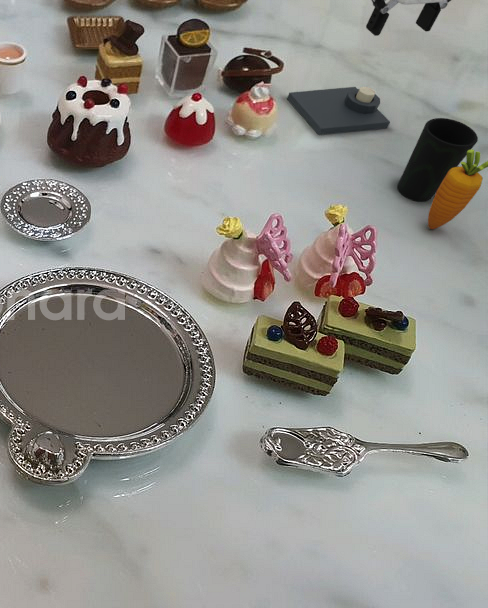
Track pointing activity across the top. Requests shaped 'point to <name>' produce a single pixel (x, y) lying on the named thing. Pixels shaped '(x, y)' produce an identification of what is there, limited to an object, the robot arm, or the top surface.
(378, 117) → the scale
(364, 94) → the button
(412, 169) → the cup
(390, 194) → the top surface
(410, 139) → the top surface
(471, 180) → the carrot
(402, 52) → the top surface
